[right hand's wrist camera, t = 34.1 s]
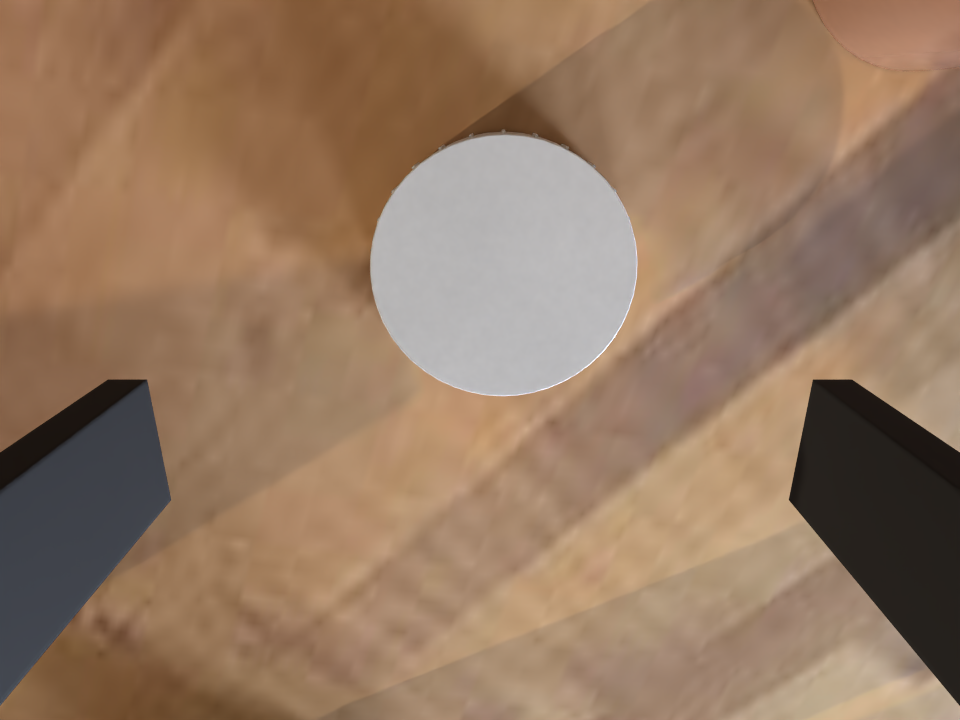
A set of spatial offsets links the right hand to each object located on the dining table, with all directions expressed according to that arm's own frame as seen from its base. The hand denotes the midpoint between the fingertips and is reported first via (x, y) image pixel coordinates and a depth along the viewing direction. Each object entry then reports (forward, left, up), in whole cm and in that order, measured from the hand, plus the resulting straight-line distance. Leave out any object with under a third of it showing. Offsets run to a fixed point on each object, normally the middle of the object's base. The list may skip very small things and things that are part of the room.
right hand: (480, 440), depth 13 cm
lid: (0, -1, -11) cm, 11 cm away
